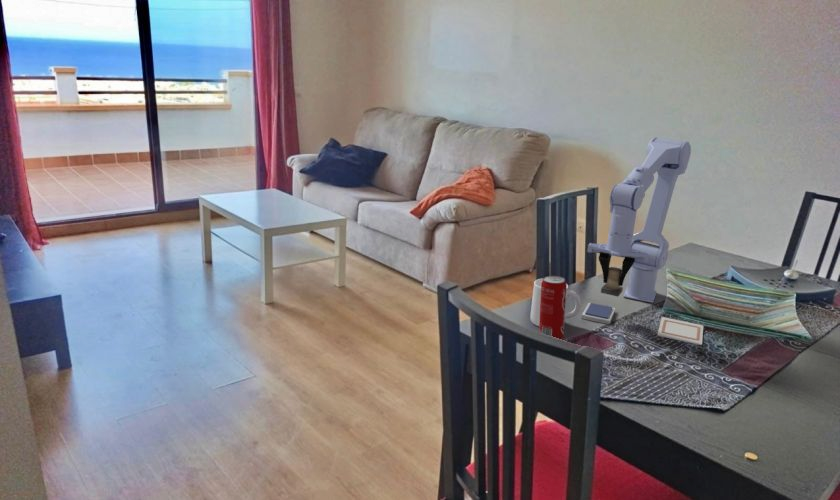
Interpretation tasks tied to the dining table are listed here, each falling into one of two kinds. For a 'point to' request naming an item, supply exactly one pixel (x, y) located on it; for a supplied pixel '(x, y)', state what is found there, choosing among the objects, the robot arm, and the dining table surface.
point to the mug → (537, 297)
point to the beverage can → (552, 306)
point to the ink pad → (598, 313)
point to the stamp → (613, 282)
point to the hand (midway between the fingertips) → (613, 283)
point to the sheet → (681, 331)
